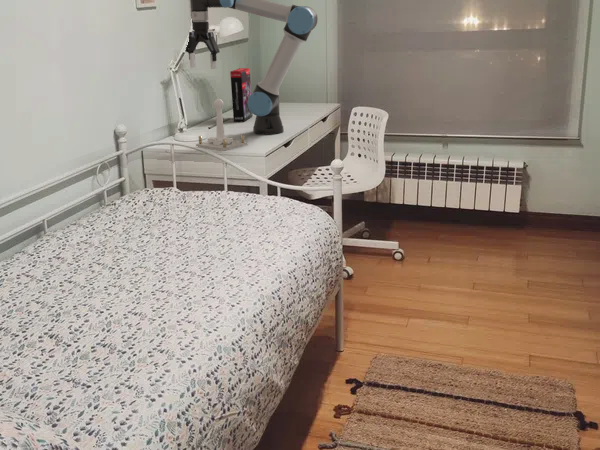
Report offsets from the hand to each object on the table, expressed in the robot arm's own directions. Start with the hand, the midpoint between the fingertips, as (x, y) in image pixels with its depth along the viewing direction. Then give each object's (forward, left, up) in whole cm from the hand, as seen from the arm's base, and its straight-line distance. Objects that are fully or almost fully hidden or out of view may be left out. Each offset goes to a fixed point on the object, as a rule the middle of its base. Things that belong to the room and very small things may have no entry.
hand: (203, 68), depth 328 cm
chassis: (+13, +22, -33) cm, 42 cm away
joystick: (+14, +22, -32) cm, 41 cm away
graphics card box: (-46, -18, -33) cm, 59 cm away
